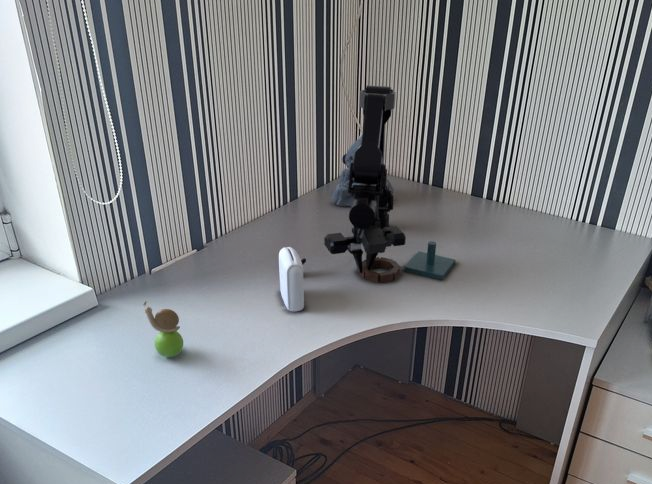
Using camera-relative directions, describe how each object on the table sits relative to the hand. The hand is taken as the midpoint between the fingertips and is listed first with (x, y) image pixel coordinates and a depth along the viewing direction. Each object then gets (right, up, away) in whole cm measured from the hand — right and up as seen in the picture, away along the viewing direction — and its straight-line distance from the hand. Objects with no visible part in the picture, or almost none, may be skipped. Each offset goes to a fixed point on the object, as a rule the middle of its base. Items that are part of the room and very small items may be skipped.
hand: (364, 271), depth 168 cm
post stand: (+17, +2, +6) cm, 17 cm away
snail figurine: (-39, -19, -31) cm, 53 cm away
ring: (+4, 0, +2) cm, 4 cm away
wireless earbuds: (-16, -1, -1) cm, 16 cm away
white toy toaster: (-16, -8, -11) cm, 21 cm away
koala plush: (0, +26, +43) cm, 51 cm away
